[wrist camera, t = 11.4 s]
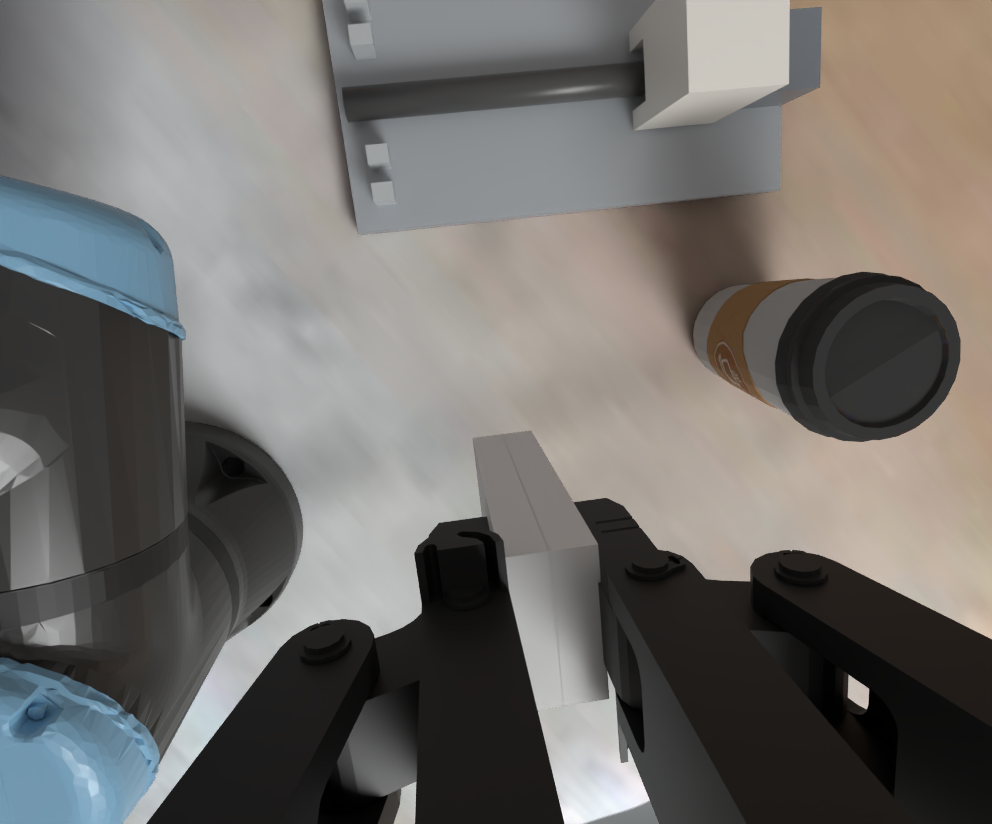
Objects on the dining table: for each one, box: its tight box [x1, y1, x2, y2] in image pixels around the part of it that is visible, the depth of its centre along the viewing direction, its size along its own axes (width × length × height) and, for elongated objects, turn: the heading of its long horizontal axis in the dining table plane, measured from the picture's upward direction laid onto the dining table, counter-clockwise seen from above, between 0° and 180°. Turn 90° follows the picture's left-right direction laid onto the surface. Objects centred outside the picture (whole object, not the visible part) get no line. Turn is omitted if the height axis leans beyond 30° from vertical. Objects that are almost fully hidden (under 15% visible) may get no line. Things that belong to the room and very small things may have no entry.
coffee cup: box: [693, 272, 960, 442], centre depth 36 cm, size 8×8×15 cm
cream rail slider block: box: [629, 0, 790, 131], centre depth 33 cm, size 5×5×8 cm
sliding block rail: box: [322, 0, 822, 235], centre depth 36 cm, size 27×14×6 cm, turn 96°
